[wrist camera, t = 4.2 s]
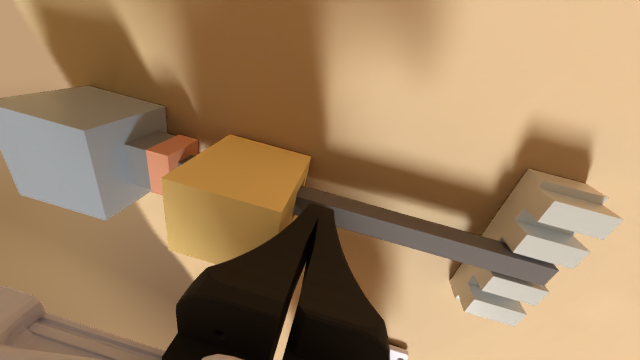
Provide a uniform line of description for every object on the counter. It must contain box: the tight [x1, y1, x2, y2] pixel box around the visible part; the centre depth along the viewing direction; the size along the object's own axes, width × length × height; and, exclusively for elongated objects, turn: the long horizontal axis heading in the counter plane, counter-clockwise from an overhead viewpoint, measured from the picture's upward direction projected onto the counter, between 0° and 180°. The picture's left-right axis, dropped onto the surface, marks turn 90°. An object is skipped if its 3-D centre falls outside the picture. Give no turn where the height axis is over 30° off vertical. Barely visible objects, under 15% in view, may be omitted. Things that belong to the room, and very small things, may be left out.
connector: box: [0, 86, 175, 220], centre depth 14 cm, size 5×7×5 cm
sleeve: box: [161, 134, 311, 264], centre depth 13 cm, size 4×5×6 cm
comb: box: [450, 168, 624, 326], centre depth 14 cm, size 9×3×3 cm, turn 168°
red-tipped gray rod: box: [146, 134, 559, 286], centre depth 14 cm, size 23×3×3 cm, turn 78°
